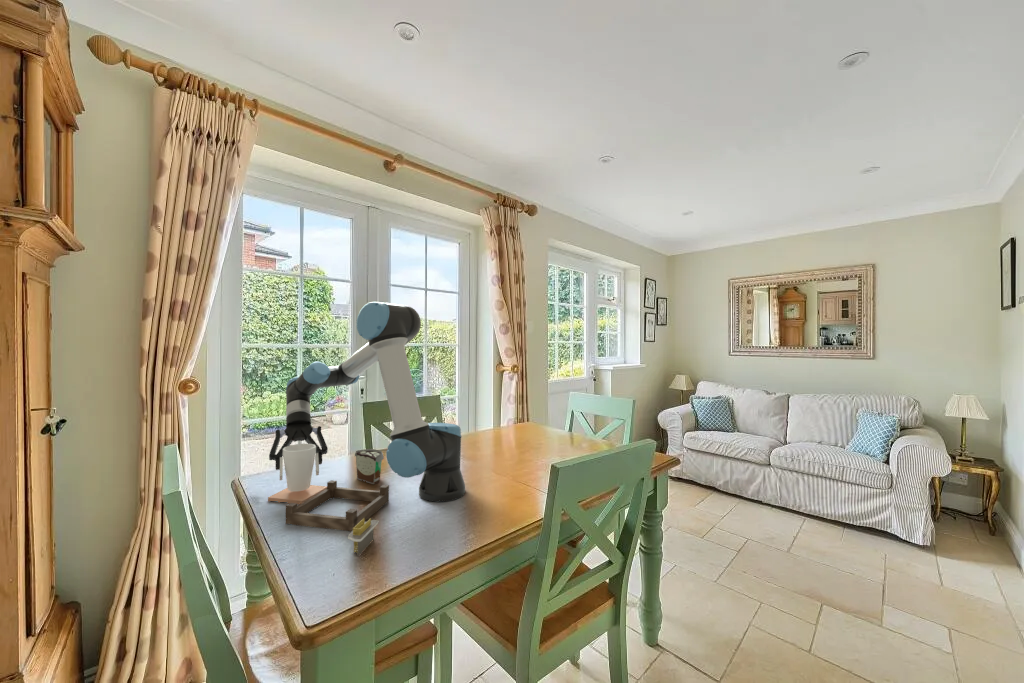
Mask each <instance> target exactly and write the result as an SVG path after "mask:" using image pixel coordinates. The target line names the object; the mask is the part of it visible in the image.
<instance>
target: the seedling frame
mask: <svg viewBox="0 0 1024 683" xmlns="http://www.w3.org/2000/svg"><path fill="white" fill-rule="evenodd" d="M326 484H327V485H326V486H327V489H326V490H324V491H322V492H321V493H319V494H317V495H316V496H314V497H312V498H310V499H309V500H307V501H305V502H304V503H302V504H297V503H287V504H286V505H285V522H284V523H285V525H290V524H292V526H293V525H294V526H301V527H308V526H309V527H310V528H318V529H327V530H328V529H329V530H335V529H336V530H337V531H344V532H345V531H346V532H352V531H353V528H354V527H355V526H356V525H357V524H358V523H359V522H360V521H361V520H362V519H363V518H365V520H364V522H366V521H368V520H369V519H370V518H371V517H372V516H373V515H374V514H375V513H376V512H378V511H379V510H380V509H381V508H382V507H383V506H385V505H386V504H387V503H388V502H389V500H390V499H389V498H390V495H389V494H390V485H388V484H382V485H380V487H379V490H375V489H374V490H372V489H363V488H362V489H361V488H352V487H341V486H339V487H338V485H337V484H338V481H337V480H334V479H333V480H330V481H327V482H326ZM330 498H332V500H333V499H334V498H335V499H342V498H344V499H345V500H352V499H354V500H355V501H365V502H370V503H368V504H367V505H366V506H365V507H363V508H361V509H360V510H358V509H356V508H349V509H348V510H347V511H345V516H340V515H331V514H329V515H328V514H319V513H310V512H311V511H313V510H315V509H317V508H318V507H320V506H321V505H322V503H323V504H324V503H325V501H326V502H327V501H329V500H330ZM328 499H329V500H328ZM344 499H343V500H344ZM354 500H353V501H354ZM317 506H318V507H317ZM314 508H315V509H314ZM312 509H313V510H312ZM309 511H310V512H309Z"/></svg>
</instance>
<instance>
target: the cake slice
mask: <svg viewBox="0 0 1024 683" xmlns="http://www.w3.org/2000/svg"><path fill="white" fill-rule="evenodd" d="M354 457H355V466H356V467H355V468H356V479H357V480H359V481H362V480H363V481H362V482H365V481H366V483H369V484H371V485H375V484H379V482H380V480H381V471H382V461H383V460H384V459H385V457H384V453H383V451H382V450H380V449H374V448H366V449H359V450H355V453H354Z"/></svg>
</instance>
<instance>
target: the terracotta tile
mask: <svg viewBox="0 0 1024 683" xmlns="http://www.w3.org/2000/svg"><path fill="white" fill-rule="evenodd" d="M326 489H327V485H326V486H325V485H315V484H310V487H309V488H308V489H306V490H302V491H289V490H288V487H286V488H284V489H282V490H280V491H278V492H276V493H273V494H272V495H270V496H268V497H267V501H268V502H270V501H278V502H277V503H280V502H288V503H287V504H290V503H297V505H300V504H302V503H304V502H305V501H307V500H309V499H310V498H312V497H314V496H316V495H317V494H319V493H321V492H322V491H324V490H326Z"/></svg>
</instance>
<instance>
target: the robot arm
mask: <svg viewBox="0 0 1024 683" xmlns="http://www.w3.org/2000/svg"><path fill="white" fill-rule="evenodd" d="M421 322H422V321H421V317H420V314H419V313H418V311H416V309H414V308H413V307H411V306H410V305H407V304H399V303H398V304H397V303H391V302H385V301H371V302H367V303H366V304H364V305H363V307H362V308H361V309H360V310H359V313H358V314H357V318H356V330H357V333H358V335H359V336H360V337H362V338H363V339H365V340H367V341H368V342H367V343H366V344H365V345H363V346H362V347H360V348H359V349H358V350H356V351H355V352H354V353H353V354H352V355H351V356H349V357H348V358H347V359H345V360H344V361H342V362H341V363H340V364H339V365H332V366H328V364H326V363H324V362H321V361H313V362H312V363H310V364H309V365H308V366H307V367H305V368H304V370H303V371H302V373H301V374H300V375H299V376H295V377H292V378H290V379H289V380H288V381H287V383H286V388H285V395H286V399H285V401H286V403H285V404H286V406H285V407H286V408H285V410H286V411H285V412H286V415H285V416H286V420H285V421H286V422H285V423H286V424H285V429H284V430H280V429H276V430H275V437H274V440H273V442H272V443H273V444H272V446H271V449H270V450H269V455H268V458H269V459H268V460H269V461H274V462H275V470H276V471H278V470H279V481H282V480H283V473H284V472H283V471H284V470H283V468H284V467H283V466H284V458H283V448H284V447H287V446H290V445H292V443H293V442H298V441H299V442H300V441H301V442H306V444H314V445H316V454H315V459H314V464H315V476H319V475H320V465H322V464H323V455H326V454H328V451H329V450H328V445H327V443H326V440H325V438H324V436H323V434H322V426H320V425H319V426H317V427H313V426H312V417H311V413H312V412H311V397H312V395H314V394H315V392H316V391H317V390H318V389H321V388H322V389H323V388H331V387H339V386H350V385H354V384H356V383H357V382H359V378H360V375H361V374H363V373H364V372H366V371H367V370H369V368H371V367H372V366H374V364H375V365H376V364H377V362H378V365H379V369H380V374H381V377H382V382H383V385H384V386H383V387H384V390H385V395H386V399H387V403H388V406H389V408H388V409H389V411H390V416H391V421H392V424H393V429H392V431H391V432H390V434H389V435H390V440H391V441H390V443H389V444H388V446H387V450H386V454H385V455H386V461H387V464H388V466H389V468H390V469H391V470H392V471H393V472H394V473H395V474H397V475H398V476H400V477H401V478H412V477H416V476H420V475H422V477H421V480H420V484H419V487H418V496H419V498H421V499H422V498H423V500H425V501H428V500H429V501H428V502H434V501H444V502H451V501H454V500H458V499H460V498H462V497H463V496H465V494H466V483H465V481H464V480H465V479H464V478H463V475H462V471H461V452H462V451H461V448H462V447H461V446H462V435H461V433H462V432H461V431H462V429H461V427H460V425H458V424H455V423H449V422H426V421H424V419H423V417H422V412H421V409H420V405H419V400H418V397H417V393H416V388H415V384H414V380H413V376H412V373H411V368H410V364H409V361H408V357H407V353H406V348H405V345H407V344H409V343H410V342H411V341H412V340H413V339H415V338H416V336H417V335H418V334H419V332H420V330H421V326H422V324H421ZM312 433H313V434H314V435H316V439H317V441H318V443H319V445H318V444H317V442H316V440H315V439H314V438H313V437H312V435H311V434H312ZM284 435H285V436H286V437H287V438H286V440H285V441H284V443H283V444H282V446H281V448H280V449H279V450H278V447H279V444H280V442H281V441H280V440H281V439H282V438H283V437H284ZM277 450H278V452H277ZM464 493H465V494H464ZM461 496H462V497H461ZM457 498H458V499H457Z"/></svg>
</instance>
